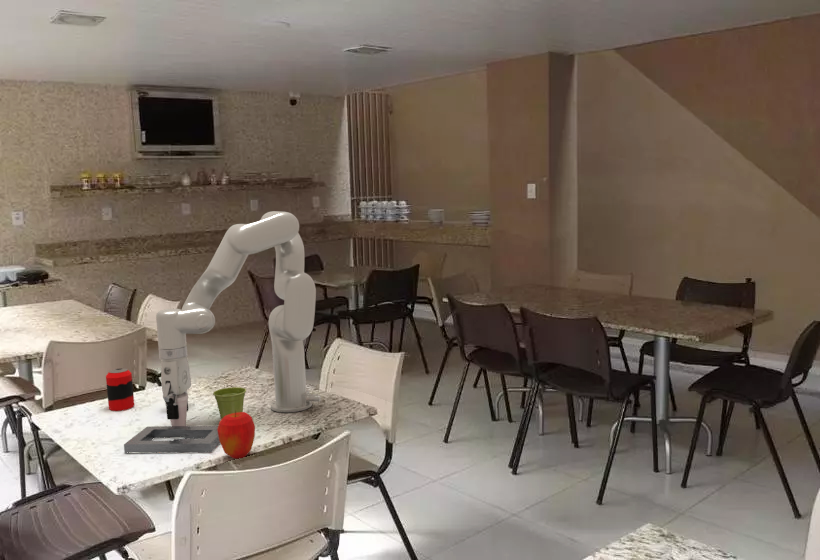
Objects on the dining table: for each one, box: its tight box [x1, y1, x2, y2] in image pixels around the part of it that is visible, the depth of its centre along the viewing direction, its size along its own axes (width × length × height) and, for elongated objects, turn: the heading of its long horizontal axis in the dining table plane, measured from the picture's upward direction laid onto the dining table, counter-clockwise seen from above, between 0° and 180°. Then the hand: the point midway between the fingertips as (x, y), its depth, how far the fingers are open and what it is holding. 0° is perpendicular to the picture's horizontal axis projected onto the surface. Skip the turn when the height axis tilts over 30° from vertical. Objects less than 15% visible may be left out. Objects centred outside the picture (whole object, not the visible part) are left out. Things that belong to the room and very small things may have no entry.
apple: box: [217, 411, 256, 460], centre depth 180 cm, size 9×9×12 cm
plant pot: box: [212, 386, 247, 421], centre depth 209 cm, size 9×9×9 cm
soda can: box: [105, 367, 135, 412], centre depth 226 cm, size 8×8×12 cm
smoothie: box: [169, 392, 190, 426], centre depth 203 cm, size 6×6×14 cm
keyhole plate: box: [123, 425, 221, 454], centre depth 192 cm, size 23×14×2 cm, turn 86°
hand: (178, 414), depth 203 cm, fingers closed on smoothie, 6 cm apart
